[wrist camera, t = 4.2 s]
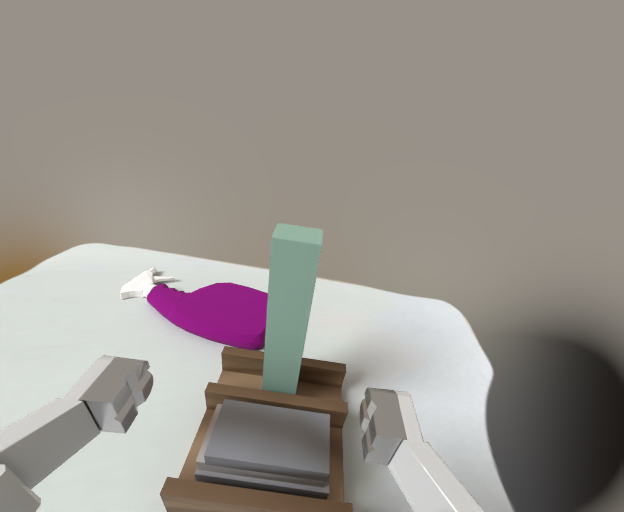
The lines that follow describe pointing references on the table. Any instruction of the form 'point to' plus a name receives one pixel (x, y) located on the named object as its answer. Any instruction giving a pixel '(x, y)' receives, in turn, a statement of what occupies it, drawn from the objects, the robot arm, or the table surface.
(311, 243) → the tall board
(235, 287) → the spray bottle
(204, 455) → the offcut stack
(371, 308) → the table surface
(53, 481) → the table surface
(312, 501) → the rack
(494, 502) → the table surface
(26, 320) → the table surface
